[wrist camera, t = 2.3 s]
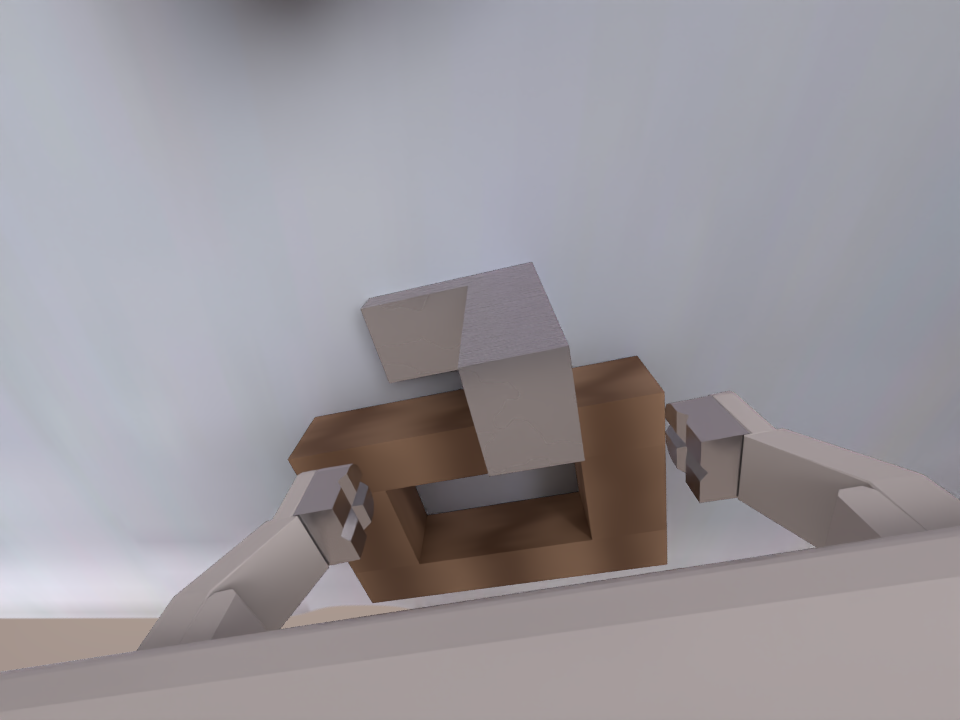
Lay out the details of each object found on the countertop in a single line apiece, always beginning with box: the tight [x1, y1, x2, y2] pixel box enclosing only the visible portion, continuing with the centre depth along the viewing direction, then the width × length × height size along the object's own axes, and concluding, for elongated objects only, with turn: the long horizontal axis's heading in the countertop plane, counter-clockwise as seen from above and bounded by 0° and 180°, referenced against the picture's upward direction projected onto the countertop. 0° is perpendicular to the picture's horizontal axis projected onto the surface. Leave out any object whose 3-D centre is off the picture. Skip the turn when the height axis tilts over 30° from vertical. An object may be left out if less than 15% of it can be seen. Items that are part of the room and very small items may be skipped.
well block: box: [288, 356, 667, 603], centre depth 23 cm, size 18×12×4 cm, turn 103°
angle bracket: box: [361, 262, 585, 476], centre depth 16 cm, size 8×4×9 cm, turn 103°
